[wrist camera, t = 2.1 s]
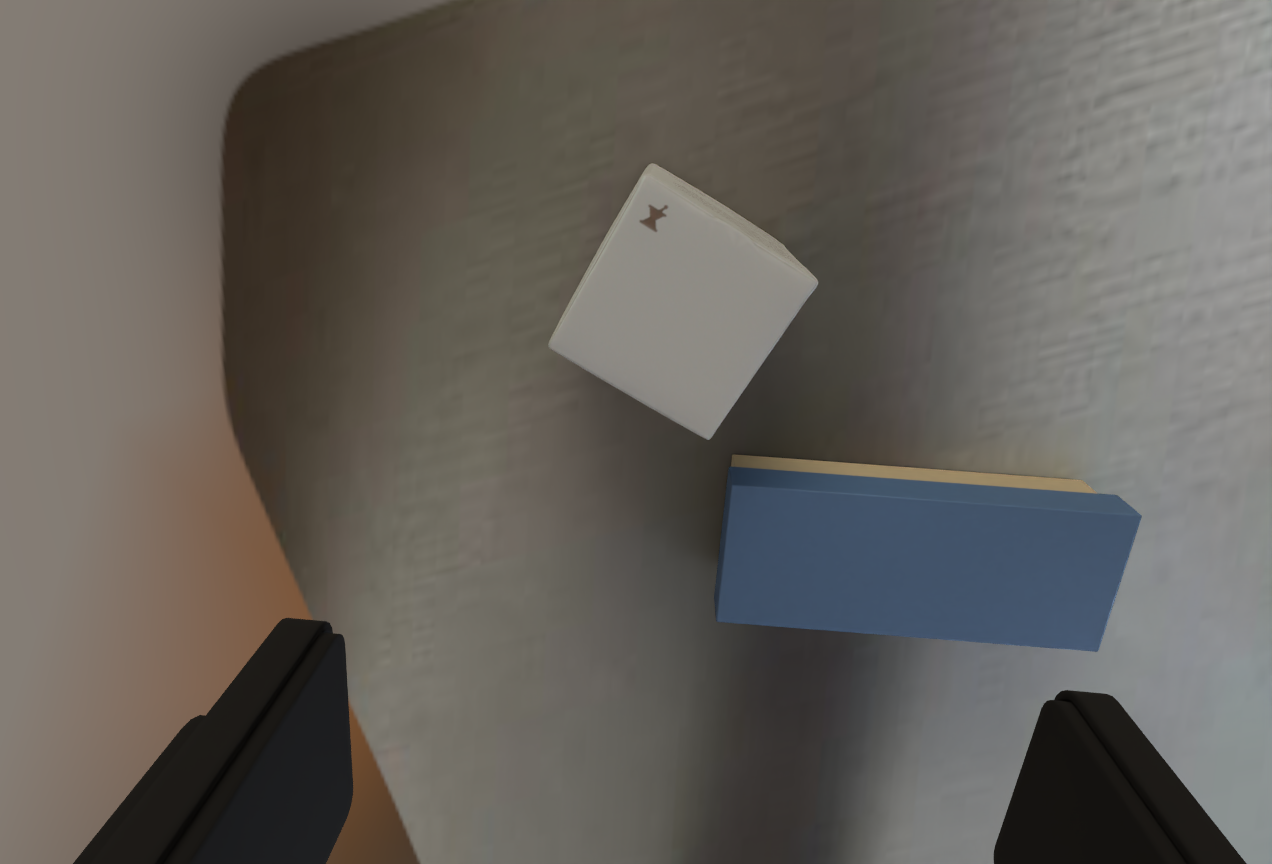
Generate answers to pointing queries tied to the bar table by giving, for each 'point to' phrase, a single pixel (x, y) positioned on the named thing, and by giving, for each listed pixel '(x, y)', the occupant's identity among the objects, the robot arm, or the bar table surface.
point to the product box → (681, 302)
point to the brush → (920, 552)
